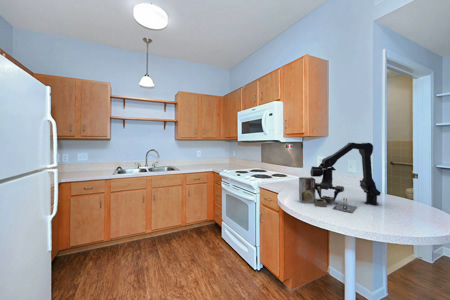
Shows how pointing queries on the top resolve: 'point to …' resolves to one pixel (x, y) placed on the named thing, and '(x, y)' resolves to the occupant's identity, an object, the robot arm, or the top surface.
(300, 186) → the coffee box
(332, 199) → the link
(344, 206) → the keeper
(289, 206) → the top surface
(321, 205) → the link
